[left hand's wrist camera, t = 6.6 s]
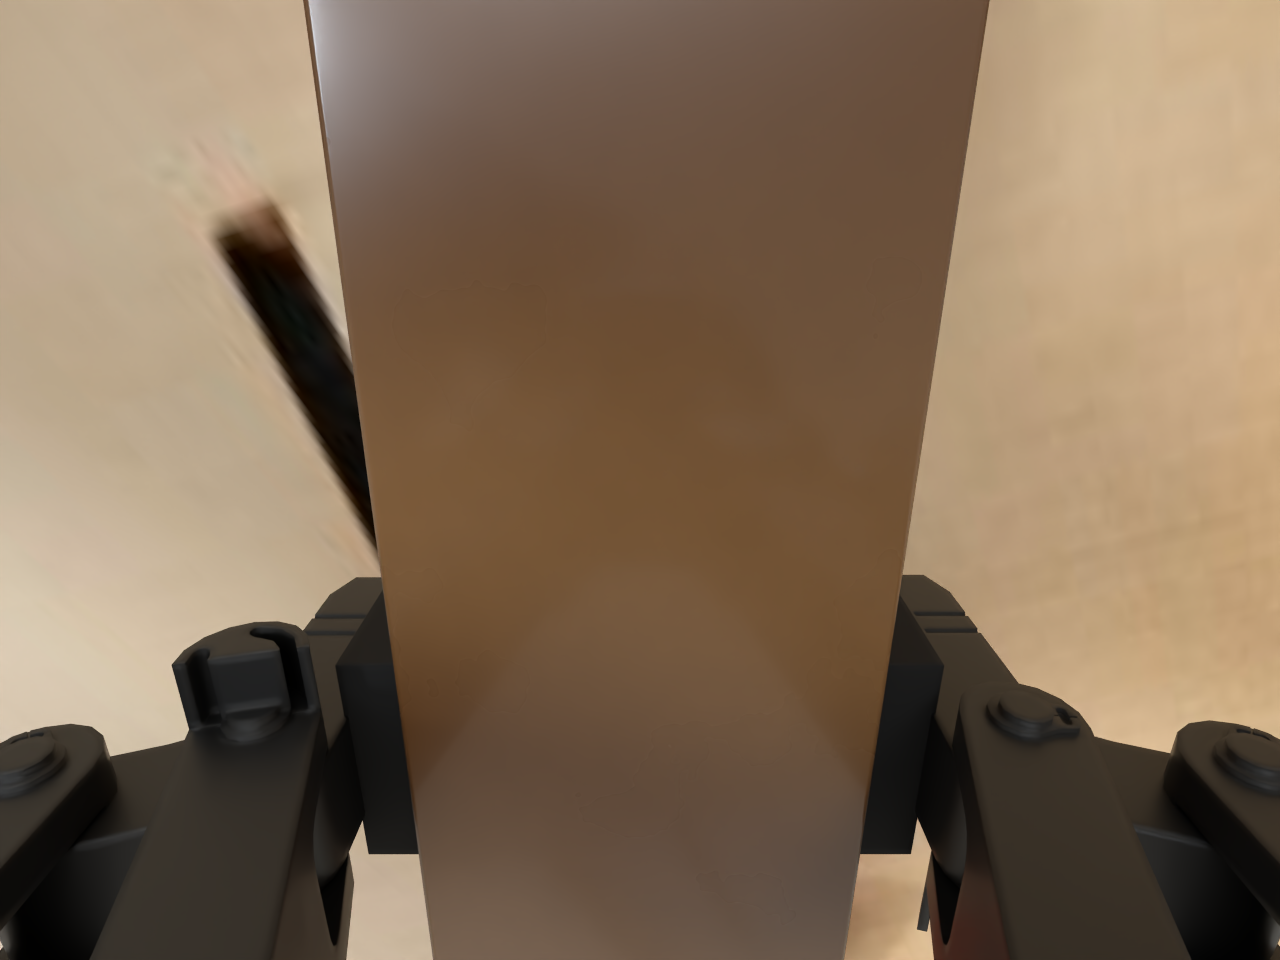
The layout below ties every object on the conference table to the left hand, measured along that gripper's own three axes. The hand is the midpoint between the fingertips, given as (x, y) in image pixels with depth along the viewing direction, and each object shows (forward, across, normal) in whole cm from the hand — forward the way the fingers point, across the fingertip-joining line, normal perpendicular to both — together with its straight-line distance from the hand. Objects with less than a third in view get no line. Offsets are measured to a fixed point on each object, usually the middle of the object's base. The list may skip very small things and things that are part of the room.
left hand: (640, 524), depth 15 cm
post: (+1, 0, -19) cm, 19 cm away
